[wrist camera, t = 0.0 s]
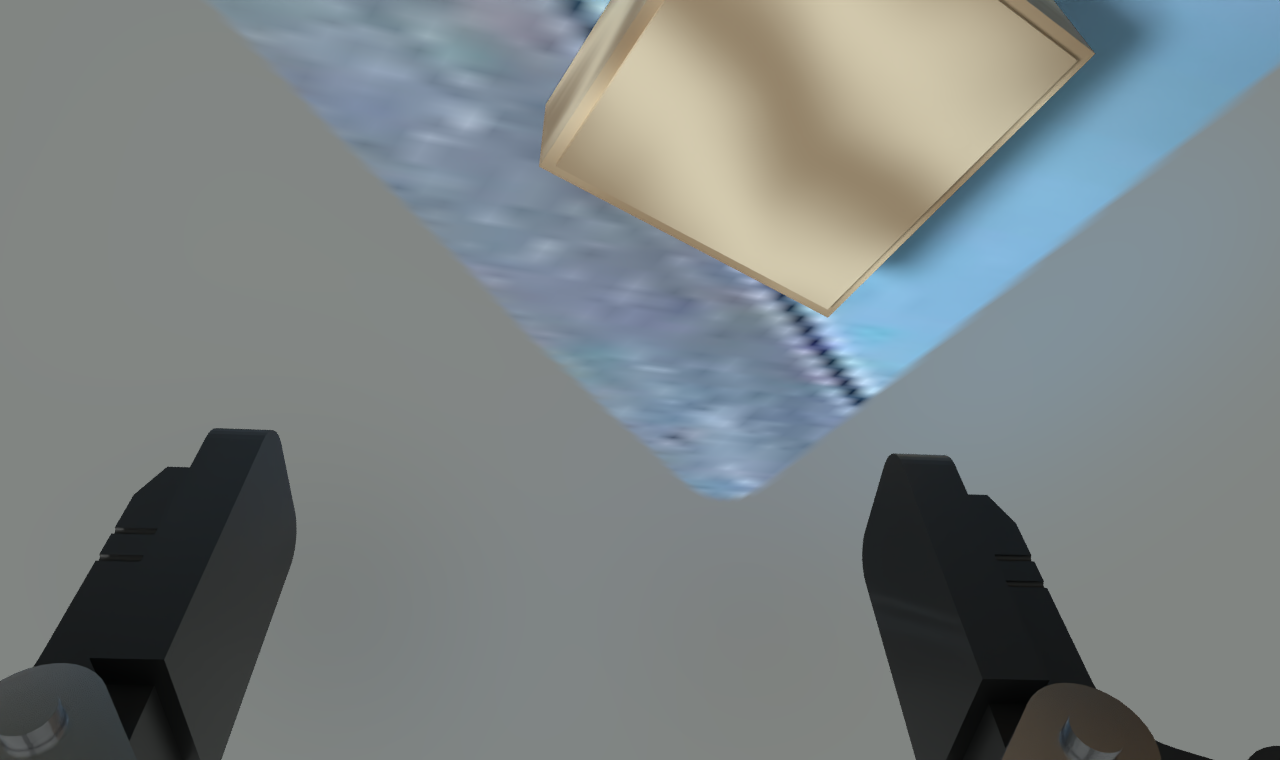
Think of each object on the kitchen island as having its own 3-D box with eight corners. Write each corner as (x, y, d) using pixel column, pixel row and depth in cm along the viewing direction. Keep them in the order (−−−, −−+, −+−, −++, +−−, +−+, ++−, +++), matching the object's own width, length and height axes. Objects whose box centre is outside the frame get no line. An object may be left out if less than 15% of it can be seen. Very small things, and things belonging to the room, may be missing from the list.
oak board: (756, -235, 26) (774, -194, 23) (1051, -4, 31) (1098, 56, 28) (545, 104, 33) (538, 170, 30) (812, 251, 38) (828, 321, 35)
